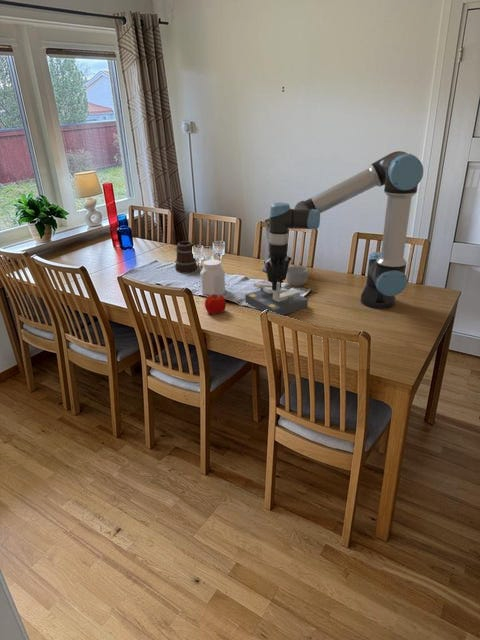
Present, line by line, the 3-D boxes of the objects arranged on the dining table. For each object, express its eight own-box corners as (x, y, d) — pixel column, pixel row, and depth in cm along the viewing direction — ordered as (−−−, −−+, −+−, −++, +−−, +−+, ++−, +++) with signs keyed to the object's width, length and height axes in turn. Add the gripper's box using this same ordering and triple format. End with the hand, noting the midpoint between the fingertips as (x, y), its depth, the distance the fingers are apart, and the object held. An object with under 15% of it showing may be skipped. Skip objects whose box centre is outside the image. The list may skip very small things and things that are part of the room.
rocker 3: (299, 294, 193) (300, 291, 192) (278, 301, 187) (278, 298, 186) (293, 291, 196) (293, 288, 195) (272, 298, 190) (272, 295, 189)
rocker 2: (288, 293, 198) (289, 290, 198) (268, 293, 191) (269, 289, 191) (282, 290, 201) (283, 287, 201) (262, 290, 194) (263, 286, 194)
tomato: (201, 312, 194) (200, 296, 190) (216, 306, 199) (216, 290, 196) (215, 318, 188) (215, 302, 184) (230, 312, 193) (230, 296, 190)
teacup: (306, 288, 216) (307, 273, 212) (284, 287, 218) (284, 272, 214) (308, 278, 228) (308, 264, 224) (287, 277, 230) (287, 263, 226)
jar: (228, 290, 216) (227, 260, 209) (219, 297, 208) (217, 266, 202) (208, 286, 221) (206, 257, 214) (198, 293, 213) (196, 263, 206)
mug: (189, 274, 238) (187, 247, 231) (171, 270, 243) (169, 244, 236) (205, 265, 250) (203, 239, 243) (187, 262, 255) (185, 237, 248)
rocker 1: (278, 288, 204) (279, 285, 203) (258, 288, 196) (259, 284, 196) (273, 286, 207) (274, 283, 206) (253, 285, 199) (254, 282, 199)
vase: (259, 274, 236) (260, 222, 223) (266, 265, 248) (266, 216, 235) (283, 276, 233) (285, 224, 220) (288, 267, 244) (290, 217, 231)
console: (307, 307, 196) (308, 291, 193) (274, 318, 187) (274, 302, 183) (277, 292, 212) (277, 278, 208) (245, 302, 202) (245, 287, 199)
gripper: (285, 238, 184) (282, 290, 194) (259, 243, 177) (258, 297, 187) (297, 242, 178) (293, 296, 188) (271, 247, 171) (269, 303, 181)
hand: (276, 296), depth 188 cm, fingers closed
